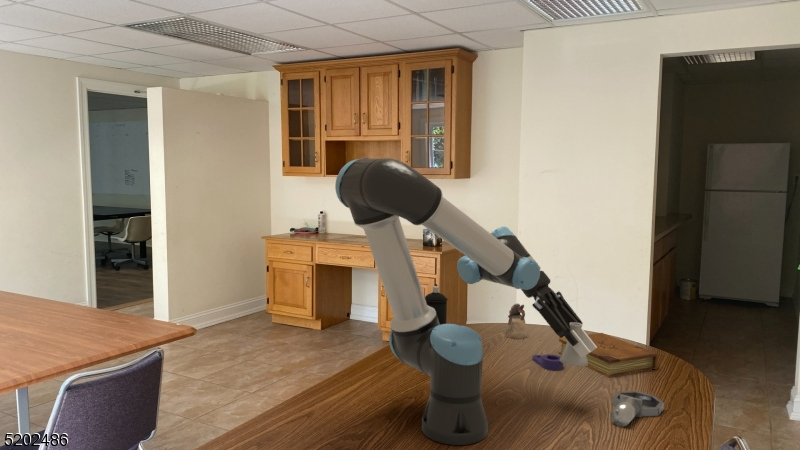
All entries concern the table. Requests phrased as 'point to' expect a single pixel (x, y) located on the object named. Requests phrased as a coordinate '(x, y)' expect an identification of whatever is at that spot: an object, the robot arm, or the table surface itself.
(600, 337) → the diary
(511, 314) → the figurine
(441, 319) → the aerosol can
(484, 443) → the table surface
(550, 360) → the lever
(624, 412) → the octagonal metal scoop
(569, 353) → the flask
